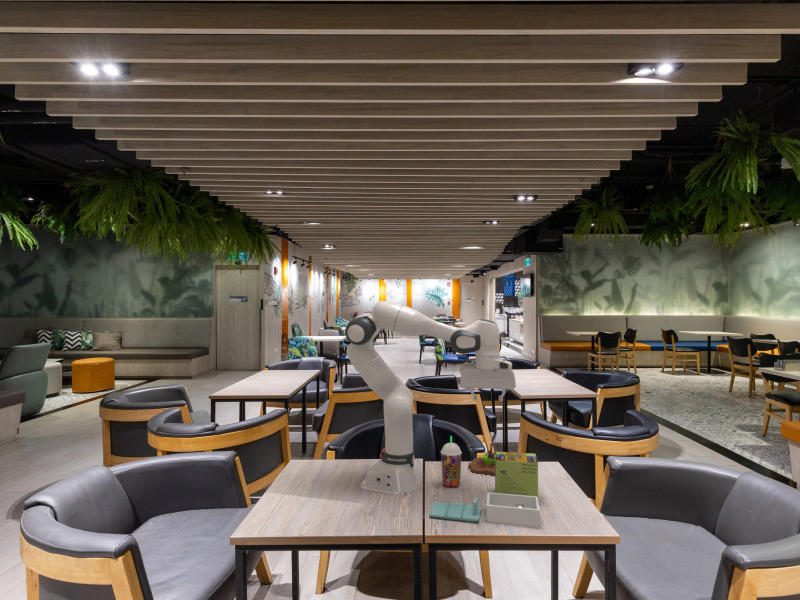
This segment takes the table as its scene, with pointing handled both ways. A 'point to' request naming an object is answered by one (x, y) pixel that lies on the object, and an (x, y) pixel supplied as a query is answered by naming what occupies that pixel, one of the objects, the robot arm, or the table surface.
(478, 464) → the plant
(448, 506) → the lid
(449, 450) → the smoothie
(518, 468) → the protein box
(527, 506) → the tub
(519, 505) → the ball
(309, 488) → the table surface
